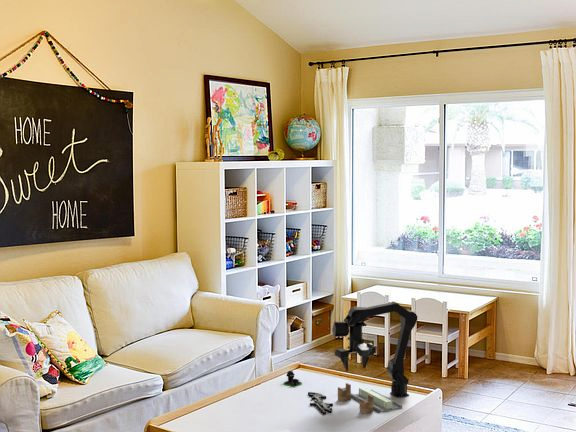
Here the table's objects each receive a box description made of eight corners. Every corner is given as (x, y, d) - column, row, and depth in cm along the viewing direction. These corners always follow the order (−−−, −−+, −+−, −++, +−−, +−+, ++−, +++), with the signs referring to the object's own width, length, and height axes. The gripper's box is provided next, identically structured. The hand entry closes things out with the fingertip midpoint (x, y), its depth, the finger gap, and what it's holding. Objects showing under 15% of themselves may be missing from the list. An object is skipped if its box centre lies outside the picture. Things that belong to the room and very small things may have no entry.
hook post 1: (347, 398, 326) (347, 383, 326) (350, 400, 324) (350, 384, 323) (337, 399, 324) (337, 384, 324) (341, 401, 321) (341, 386, 321)
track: (371, 392, 334) (371, 389, 334) (402, 408, 313) (402, 404, 313) (349, 396, 329) (349, 393, 328) (379, 412, 307) (379, 409, 307)
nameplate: (300, 392, 331) (320, 390, 334) (300, 396, 331) (320, 394, 334) (318, 412, 304) (340, 410, 307) (318, 416, 305) (340, 414, 307)
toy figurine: (287, 388, 341) (287, 376, 341) (279, 382, 350) (279, 370, 350) (306, 385, 346) (306, 373, 345) (297, 379, 355) (297, 368, 354)
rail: (358, 394, 330) (358, 387, 330) (364, 393, 331) (364, 386, 331) (386, 409, 310) (386, 402, 310) (392, 407, 312) (392, 401, 311)
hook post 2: (369, 410, 310) (369, 394, 310) (373, 412, 308) (373, 396, 307) (359, 412, 308) (359, 396, 308) (363, 414, 305) (363, 398, 305)
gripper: (347, 342, 313) (347, 377, 314) (383, 337, 321) (383, 371, 323) (334, 336, 323) (334, 370, 324) (369, 332, 331) (369, 365, 333)
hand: (355, 369), depth 326 cm, fingers open, 9 cm apart
